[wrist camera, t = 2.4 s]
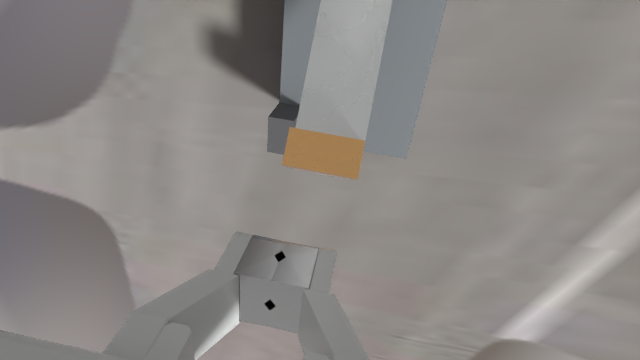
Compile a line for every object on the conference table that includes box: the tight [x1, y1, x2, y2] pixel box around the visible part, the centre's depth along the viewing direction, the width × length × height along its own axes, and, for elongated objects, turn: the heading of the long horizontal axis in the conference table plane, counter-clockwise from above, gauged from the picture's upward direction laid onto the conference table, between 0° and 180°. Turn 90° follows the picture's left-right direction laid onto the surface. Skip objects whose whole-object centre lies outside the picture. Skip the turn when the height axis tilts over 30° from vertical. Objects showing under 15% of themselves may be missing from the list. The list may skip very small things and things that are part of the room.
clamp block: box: [267, 0, 447, 159], centre depth 28 cm, size 11×20×9 cm, turn 174°
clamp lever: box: [282, 0, 392, 181], centre depth 21 cm, size 4×17×3 cm
